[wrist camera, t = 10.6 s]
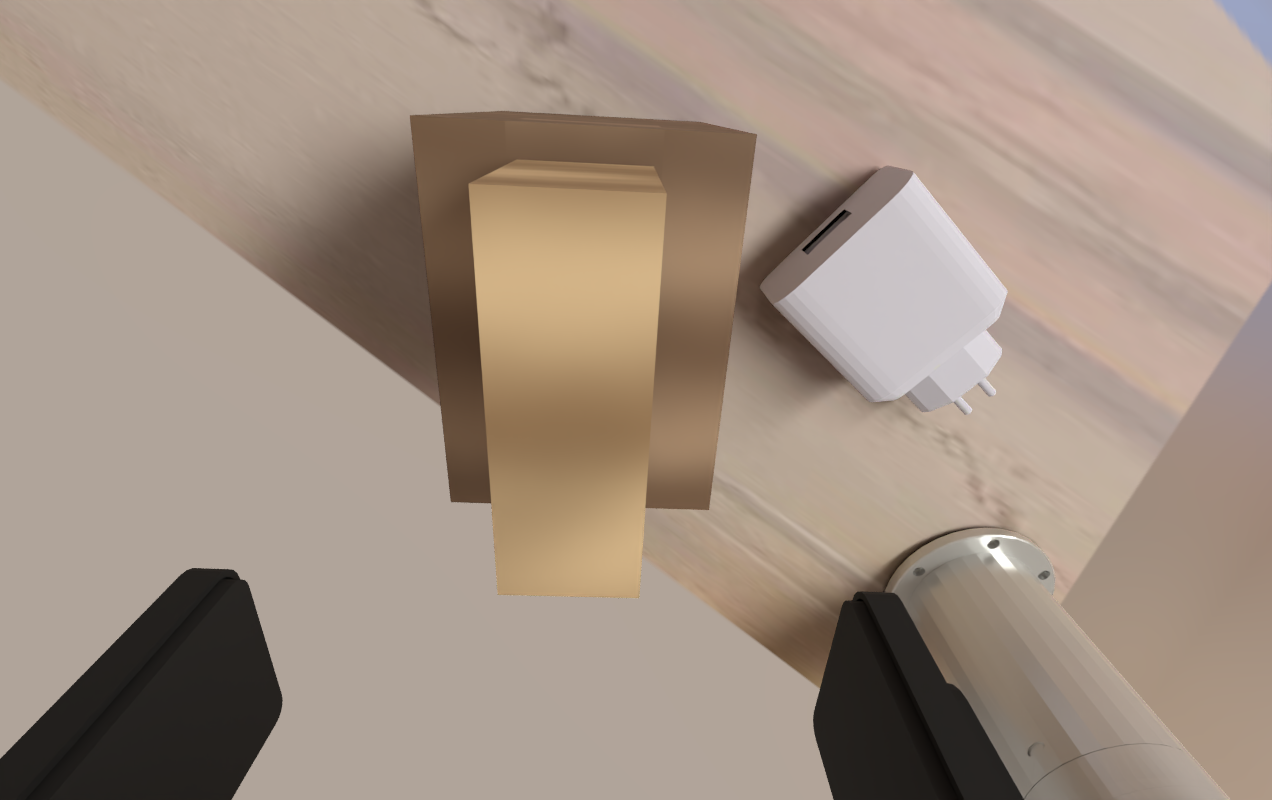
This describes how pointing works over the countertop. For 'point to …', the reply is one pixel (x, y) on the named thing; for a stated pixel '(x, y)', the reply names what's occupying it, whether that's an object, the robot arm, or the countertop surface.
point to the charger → (894, 296)
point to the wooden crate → (689, 292)
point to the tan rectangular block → (568, 368)
